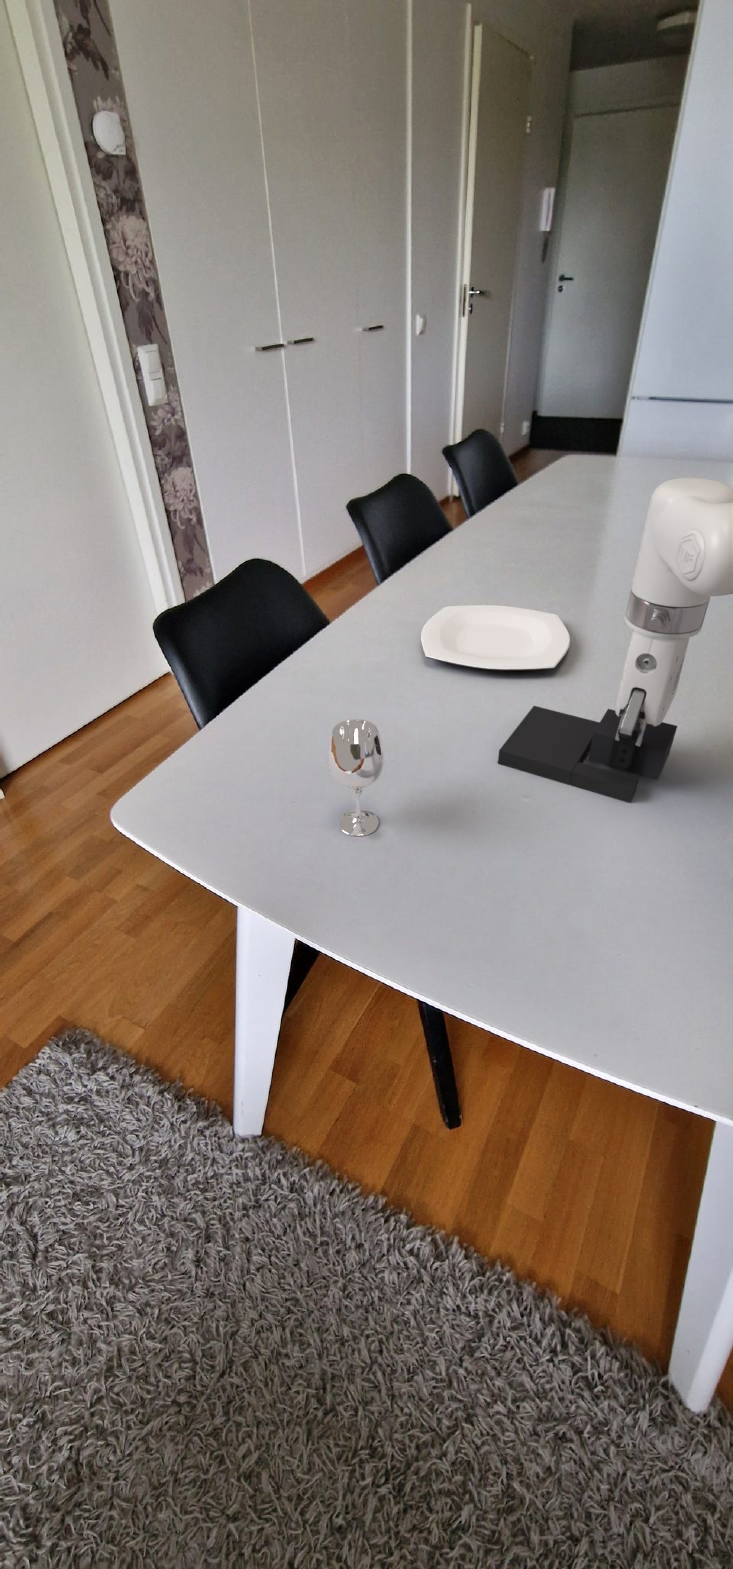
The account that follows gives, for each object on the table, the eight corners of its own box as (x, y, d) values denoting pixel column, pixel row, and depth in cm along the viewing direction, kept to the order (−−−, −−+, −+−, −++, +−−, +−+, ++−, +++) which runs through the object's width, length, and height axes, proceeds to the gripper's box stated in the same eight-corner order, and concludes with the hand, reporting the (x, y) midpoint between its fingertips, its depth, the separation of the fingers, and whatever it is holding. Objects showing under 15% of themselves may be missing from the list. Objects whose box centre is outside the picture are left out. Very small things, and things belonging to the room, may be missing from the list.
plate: (567, 687, 101) (569, 674, 99) (408, 672, 105) (408, 660, 104) (569, 621, 118) (570, 610, 117) (433, 611, 123) (433, 600, 122)
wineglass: (322, 830, 77) (315, 738, 69) (348, 801, 81) (343, 711, 73) (369, 846, 74) (367, 753, 67) (393, 815, 78) (393, 724, 71)
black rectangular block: (669, 754, 83) (677, 725, 81) (657, 780, 79) (665, 751, 77) (602, 736, 87) (608, 708, 84) (587, 760, 83) (593, 732, 80)
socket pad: (654, 750, 87) (658, 737, 86) (630, 803, 79) (633, 789, 78) (532, 718, 94) (533, 705, 93) (497, 763, 86) (499, 750, 85)
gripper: (687, 651, 65) (644, 804, 75) (719, 588, 76) (678, 728, 87) (605, 635, 68) (575, 784, 79) (648, 576, 79) (617, 713, 90)
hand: (630, 753), depth 83 cm, fingers closed on black rectangular block, 6 cm apart
